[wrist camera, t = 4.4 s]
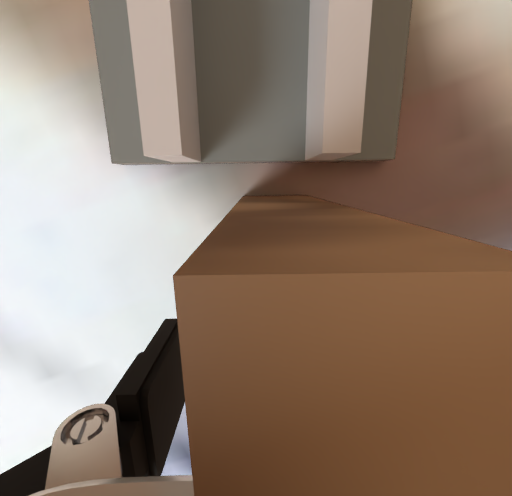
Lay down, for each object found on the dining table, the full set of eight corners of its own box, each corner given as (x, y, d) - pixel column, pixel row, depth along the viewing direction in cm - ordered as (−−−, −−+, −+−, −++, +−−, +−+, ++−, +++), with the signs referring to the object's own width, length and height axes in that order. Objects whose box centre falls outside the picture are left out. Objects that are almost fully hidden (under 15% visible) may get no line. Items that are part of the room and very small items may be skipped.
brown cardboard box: (327, 194, 13) (721, 268, 2) (316, 402, 16) (449, 888, 5) (243, 195, 13) (173, 275, 2) (248, 403, 16) (232, 888, 5)
